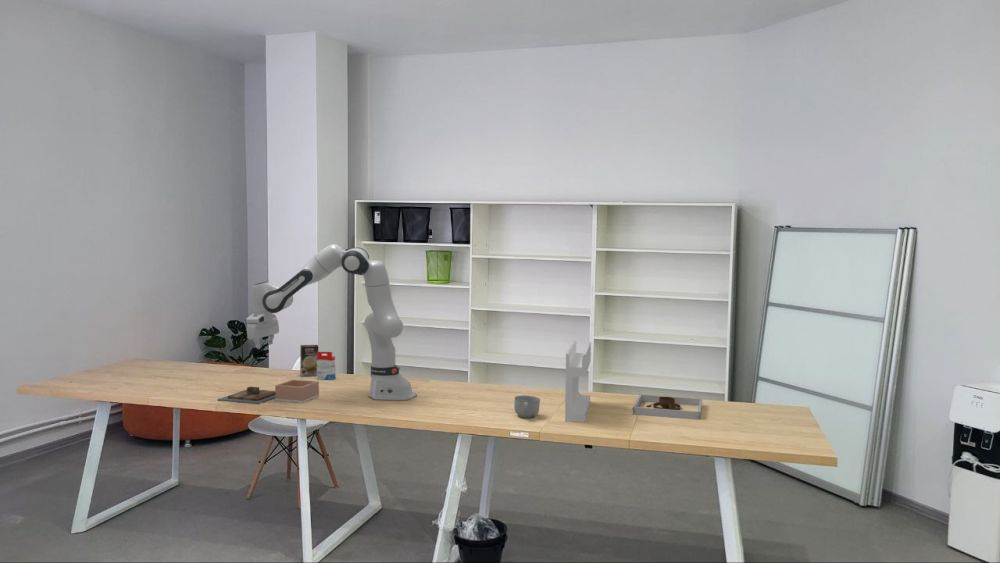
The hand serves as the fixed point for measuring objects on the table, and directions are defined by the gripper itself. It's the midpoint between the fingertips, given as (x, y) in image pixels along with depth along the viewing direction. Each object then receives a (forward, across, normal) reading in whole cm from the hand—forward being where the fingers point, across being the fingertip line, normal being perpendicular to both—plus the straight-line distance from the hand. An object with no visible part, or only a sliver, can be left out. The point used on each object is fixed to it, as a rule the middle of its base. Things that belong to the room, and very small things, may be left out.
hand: (264, 346), depth 347 cm
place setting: (+28, -32, +180) cm, 185 cm away
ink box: (+25, -42, +7) cm, 50 cm away
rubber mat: (+23, +5, -4) cm, 24 cm away
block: (+27, -17, +145) cm, 148 cm away
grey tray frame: (+28, -33, +182) cm, 187 cm away
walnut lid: (+23, +5, -4) cm, 24 cm away
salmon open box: (+24, +1, +17) cm, 29 cm away
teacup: (+26, -1, +126) cm, 129 cm away
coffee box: (+24, -47, -6) cm, 54 cm away
